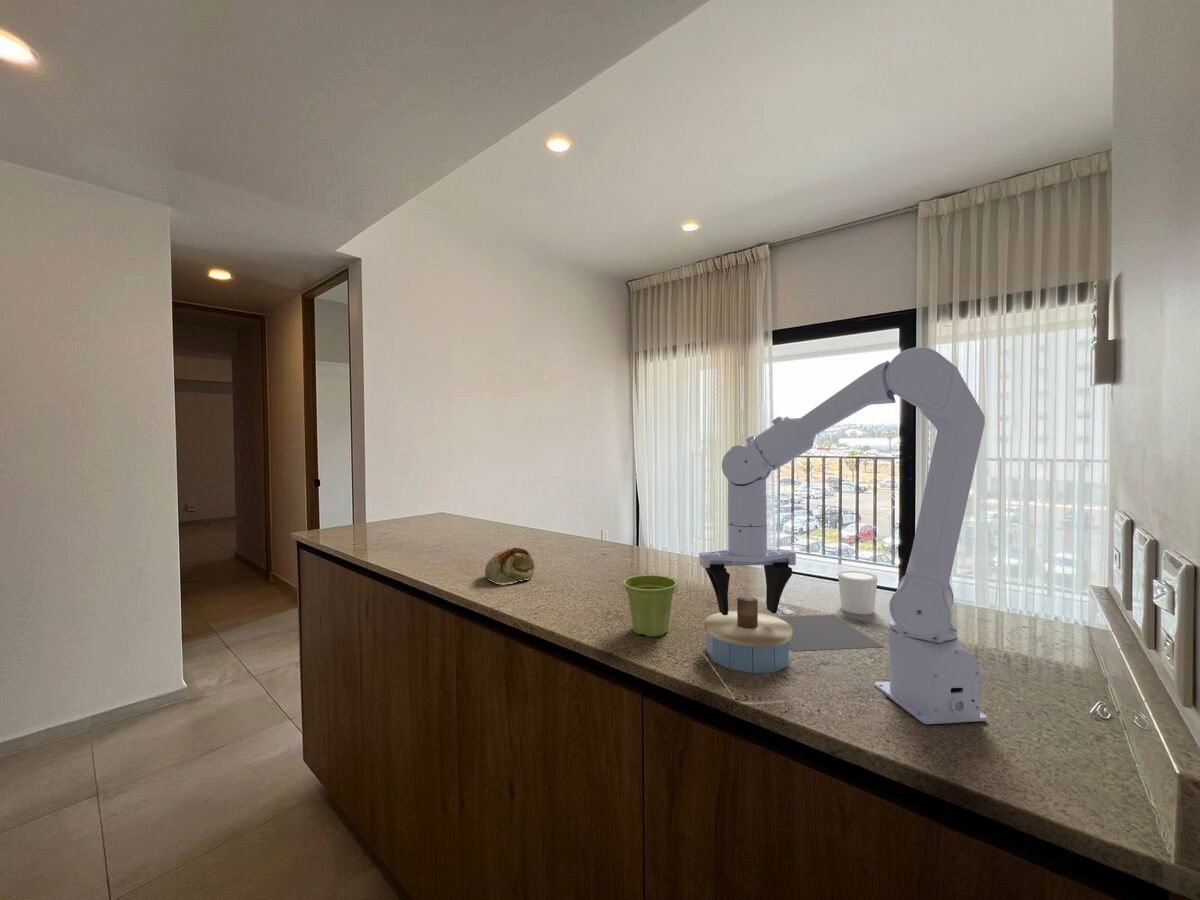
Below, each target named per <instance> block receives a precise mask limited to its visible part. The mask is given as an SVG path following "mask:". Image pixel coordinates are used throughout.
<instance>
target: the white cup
mask: <svg viewBox="0 0 1200 900" xmlns="http://www.w3.org/2000/svg"><path fill="white" fill-rule="evenodd" d="M837 575H838V586H839V595H840V607H841V609H842V610H843V611H844V612H847V613H850V614H854V615H855V614H856V615H872V614H874V613H875V606H876V595H877V585H878V576H877V575H874V574H872V573H868V572H863V571H853V570H851V571H849V570H848V571H847V570H846V571H840V572H838V573H837Z"/></svg>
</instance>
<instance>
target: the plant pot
mask: <svg viewBox="0 0 1200 900" xmlns="http://www.w3.org/2000/svg"><path fill="white" fill-rule="evenodd" d="M622 583H623V586H624V587H625V591H626V593H627V596H628V601H629V609H630V615H631V616H630V617H631V623H632V629H633V630H632V631H633V632H634V633H636V634H637V635H638V636H639V635H645V636H646V637H652V638H653V637H658V636H659V637H660V636H663V635H665V634H666V633H668V632H669V629H670V628H669V627H670V616H671V610H672V609H671V608H672V601H673V595H674V593H675V589H676V587H677V585H678V582H677V580H675V578H674V579H673V577H668V576H664V575H656V574H654V575H653V574H652V575H651V574H648V575H647V574H645V575H644V574H643V575H635V576H630V577H627V578H625V579H624V580H623V582H622Z"/></svg>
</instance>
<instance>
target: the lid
mask: <svg viewBox="0 0 1200 900" xmlns="http://www.w3.org/2000/svg"><path fill="white" fill-rule="evenodd" d="M736 600H737V601H736V603H737V605H736V607H737V608H736V610H728V615H722V613H721V612H720V611H719V612H716V613H713V614H710V615H708V616H707V617H706V618H705V620H704V630H705V632H706V634H707V633H708V634H709V635H710V636H712V637H714V638H716V639H718V640H720V641H723V642H726V643H730V644H734V645H739V646H746V647H773V646H779V645H782V644H785V643H787V642H789V641H790V640H791V639H792V636H793V630H792V627H791V626H790V625H789V624H788V623H787V622H785V621H784V620H781V619H779V618H777V617H778V616H773V615H769V614H767V613H762V612H759V611H758V610H759V609H758V608H759V607H758V605H759V604H758V599H757V598H756V597H753V596H746V595H745V596H744V595H742V596H738V597H737V598H736Z"/></svg>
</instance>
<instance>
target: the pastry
mask: <svg viewBox="0 0 1200 900" xmlns="http://www.w3.org/2000/svg"><path fill="white" fill-rule="evenodd" d="M535 566H536V565H535V562H534V559H533V558H532V555H531V554H530V553H529V551H528V550H527V549H525V548H521V547H513V548H506V549H504V550H500V551H498V552H496V553H494V555H493V556H492V558H491V559H489V560H488V562H487V563H486V565H485V567H484V574H485V575H484V576H485V578H486V580H487V579H490V580H492V581H494V582H497V583H509V582H515V581H519V580H524V579H528V578H531V577H533V576H534V569H535V568H536V567H535ZM531 579H532V578H531Z"/></svg>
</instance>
